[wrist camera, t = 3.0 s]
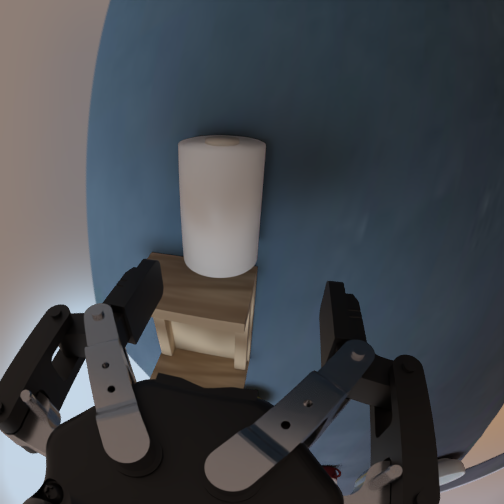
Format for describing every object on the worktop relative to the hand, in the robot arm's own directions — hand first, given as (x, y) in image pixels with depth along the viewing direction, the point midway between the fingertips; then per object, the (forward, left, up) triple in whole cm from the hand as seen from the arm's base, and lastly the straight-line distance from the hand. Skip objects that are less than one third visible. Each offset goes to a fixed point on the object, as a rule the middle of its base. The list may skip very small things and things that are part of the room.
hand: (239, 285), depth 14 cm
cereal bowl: (+68, +56, -11) cm, 88 cm away
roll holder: (+13, -5, -11) cm, 17 cm away
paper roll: (-1, -3, -8) cm, 8 cm away
